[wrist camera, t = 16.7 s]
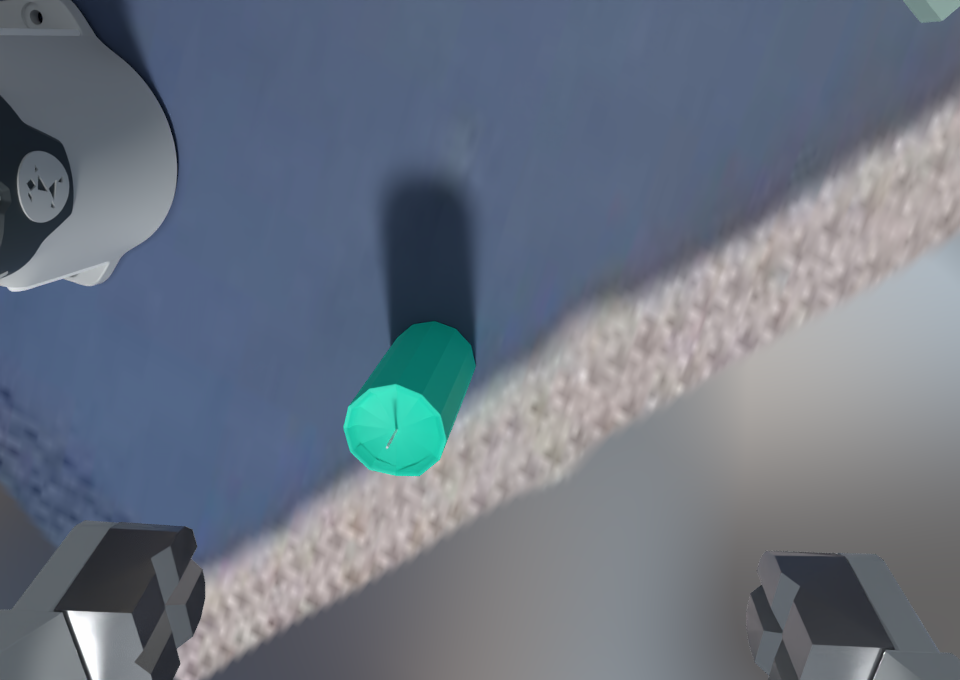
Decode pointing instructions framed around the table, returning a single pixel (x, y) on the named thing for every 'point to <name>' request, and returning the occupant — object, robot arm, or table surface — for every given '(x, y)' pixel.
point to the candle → (411, 401)
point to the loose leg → (932, 9)
